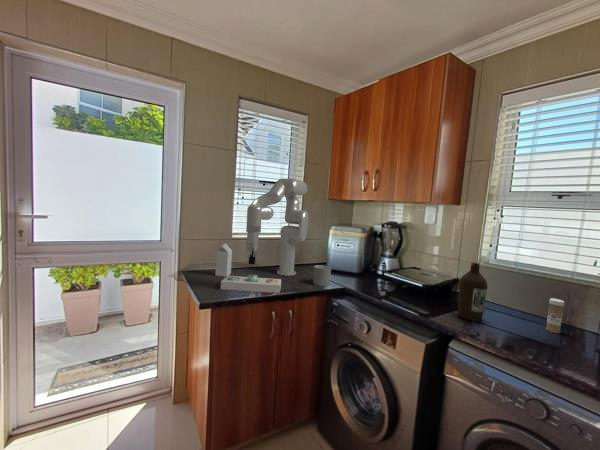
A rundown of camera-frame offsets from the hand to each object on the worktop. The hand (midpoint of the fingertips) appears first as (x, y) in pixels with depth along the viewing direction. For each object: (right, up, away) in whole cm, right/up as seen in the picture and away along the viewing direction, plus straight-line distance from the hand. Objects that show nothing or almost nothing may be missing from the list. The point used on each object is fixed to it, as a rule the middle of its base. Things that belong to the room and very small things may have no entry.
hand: (251, 263), depth 148 cm
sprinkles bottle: (+131, -24, -31) cm, 137 cm away
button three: (0, -11, +1) cm, 11 cm away
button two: (-10, -12, +1) cm, 15 cm away
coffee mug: (+39, -14, +19) cm, 46 cm away
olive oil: (+102, -21, -22) cm, 106 cm away
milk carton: (-21, -10, +22) cm, 32 cm away
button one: (+10, -13, +1) cm, 17 cm away
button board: (0, -13, +1) cm, 13 cm away
